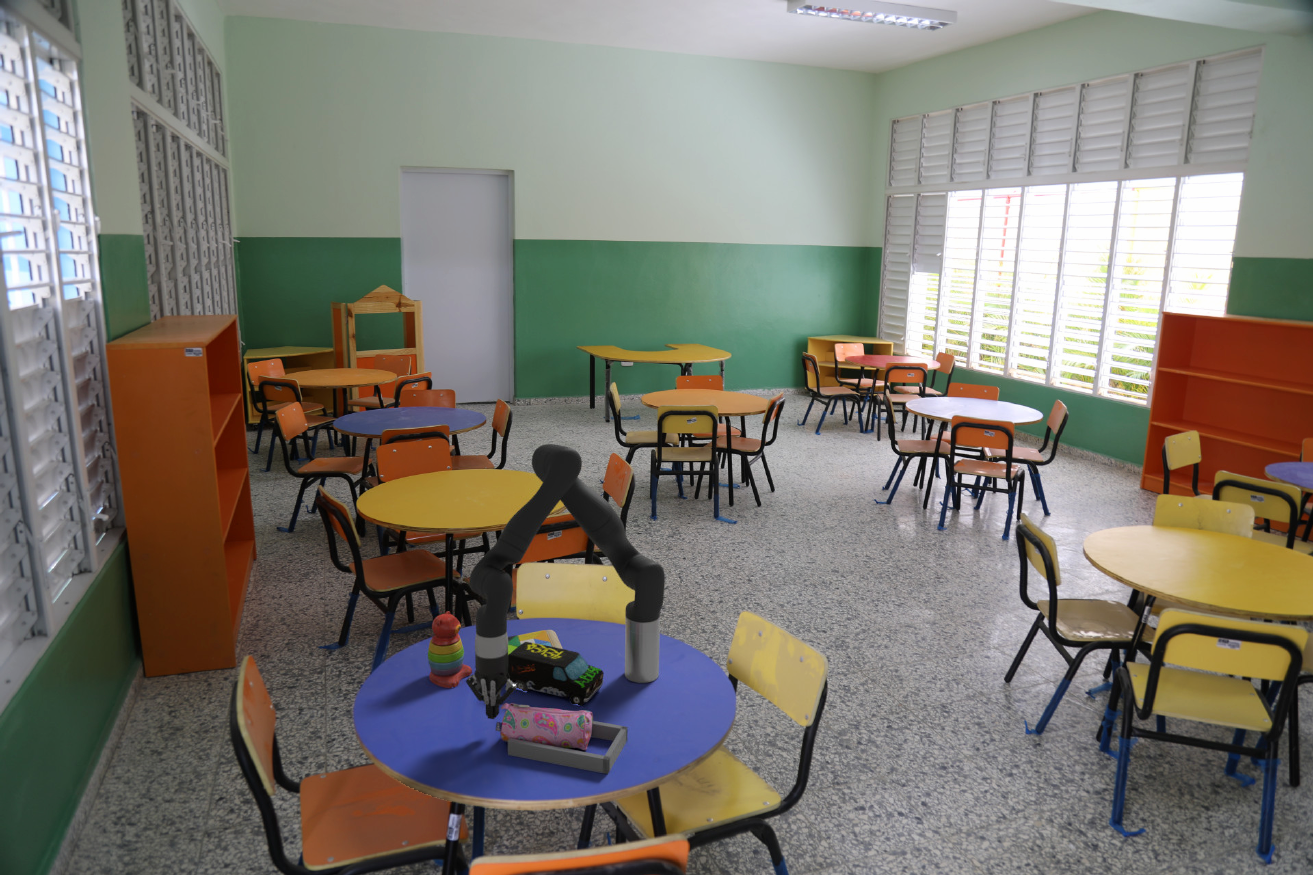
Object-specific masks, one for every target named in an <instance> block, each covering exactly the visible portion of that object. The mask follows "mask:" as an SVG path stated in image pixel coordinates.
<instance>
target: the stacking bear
mask: <svg viewBox="0 0 1313 875" xmlns="http://www.w3.org/2000/svg"><path fill="white" fill-rule="evenodd" d="M461 625H462V624H461V623H460V621H459V620H458V618H457V617H455V616H454V615H453V614H451V611H450V610H449V611H448V610H447V611H446V612H445V613H443V614H439V615H437V616H435V618H434V619H433V621H432V623H431V627H432V628H431V629H432V631H433V635H432V638H431V639H430V640H429V644H428V650H427V660H428V661H427V662H428V665H429V668H430V672H429V680H430V682H431V683H433V684H434V685H436V686H438V687H441V688H445V689H453V688H452V687H454V688H456V687H457V686H459V685H460V682H461V680H462V679H463V678H466V677H468V676H469V677H470V676H471V675H472V673H473V669H472V668H471V666H469V665H467V664H465V663H464V658H465V649H464V646H463V643H462V639H461V636H460V635H459V633H460V631H461V628H462V627H461Z"/></svg>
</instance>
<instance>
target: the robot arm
mask: <svg viewBox="0 0 1313 875" xmlns="http://www.w3.org/2000/svg"><path fill="white" fill-rule="evenodd" d="M582 465H583V461H582V456H581V455H580V453H579V452H578V451H577V450H576V449H575V448H572V447H569V446H565V445H561V444H555V443H548V444H547V443H546V444H542V445H540V446H538V447H536V449H535V450H534V452H533V454H532V457H531V466H532V470H533V472H534V474H535V476H536V477H537V478H538V479H539V480H540V482H542V484H541V485H540V487H539V489H538V490H537V491H536V492H535V494H534V495H533V496H532V497H531V498H530V499H529V500H528V501H527V502H526V503H525V504H524V505H523V506H522V507H521V508H519V509H518V511H517V512H515V513H514V514H513V515H512V517H511V518H510V519H509V520H508V522H507V523H506V524H505V526H504V528H503V530H502V532H501V533H500V535H499V537H498V538H497V540H496V542H495V544H494V545H493V547H491V548H490V549H489V550H488V551H487V552H486V553H485V555H483V556H482V558H481V559H480V560H479V561H478V562H477V563H476V564H475V565H474V567H473V569H472V571H471V572H470V574H469V575H470V576H469V581H468V584H469V587H470V589H471V590H472V592H474V593H475V594H477V595H478V596H481V597H484V598H485V599H486V604H483V605H481V606H479V607H478V609H477V610H476V613H475V639H474V653H475V654H474V660H475V661H474V662H475V663H474V664H475V665H474V666H475V667H474V668H475V671H474V673H473V674H470V675H469V677H467V679H466V680H465V683H466V685H467V686H468V687H469V689H470V691H471V692H472V693H473V695H474V696H475V697H476V699H477V700H478V701H479V702H481V701H482V702H484V704H485V715H486V716H487V719H490V720H495V719H496V718H497V717H499V714H500V705H501V706H502V705H503V704H504V702H505V701H506V700H507V699H508V698H509V697H510V696H511V695H512V694H513V693H514V691H516V688H517V687H518V683H516V682H514V683H513V682H512V681H511V680H510V676H509V674H508V637H509V636H508V616H507V614H508V612H509V610H510V604H511V600H512V597H513V594H514V593H513V592H514V584H513V580H512V577H511V576H510V574H509V573H507V572H506V571H504V568H505V567H507V566H508V565H511V564H512V565H515V564H516V565H517V564H519V563H520V562H521V561H522V559H523V558H524V556H525V554H526V553H527V551H528V549H529V547H530V546H531V544H532V542H533V540H534V538H535V536H536V535H537V533H538V531H539V530H540V528H541V526H542V525H543V524H544V522H545V521H546V519H547V518H548V516H549V515H551V512H552V511H553V510H554V509H555V508H556V506H557V505H558V504H559V503H560V502H561V503H562V504H563V506H564V508H566V509H567V511H568V513H569V514H570V515H571V517H572V518H574V520H575V521H576V522H577V524H578V525H579V527H580V528H581V529H582V531H584V533H585V534H586V536H587V537H588V538H589V539H590V540H591V541H592V543H593V544H594V545H595V546H596V547H597V549H599V551H600V552H601V553H603V555H604V556H605V557H606V558H607V559H608V561H609V562H610V564H611V566H612V567H613V568H614V570H615V572H616V574H617V575H618V577H619V578H620V580H621V581H622V583H623V584H624V585H625V586H626V587H628V588H629V589H631V590H632V591H634V600H632V601H629V602H628V603H627V604H626V606H625V610H624V611H625V621H624V622H625V624H624V625H625V627H624V628H625V632H624V633H625V635H624V636H625V637H624V638H625V639H624V641H625V642H624V676H625V678H626V680H628V681H631V682H633V683H639V684H645V683H650V682H653V681H655V680H657V679H658V678H659V674H660V673H659V672H660V634H661V633H660V628H661V627H660V626H661V624H660V623H661V622H660V621H661V611H662V608H663V604H664V596H665V586H666V585H665V584H666V582H665V581H666V580H665V579H666V576H665V571H664V568H663V566H662V565H661V564H660V563H658V562H656V561H655V560H652V559H651V558H649V557H647V556H645V555H643V554H642V553H641V552H640V551H639V550H638V549H637V548H635V546H634V545H633V544H632V543H631V541H630V540H629V539H628V537H627V535H626V534H627V533H626V530H625V526H624V523H623V521H622V519H621V518H620V516H619V514H618V513H617V512H616V510H615V509H614V508H613V506H612V505H611V504H610V503H609V502H608V501H607V500H606V499H605V498H604V497H603V496H602V495H600V494H599V493H598V492H596V490H594V489H593V488H591V487H590V486H588V484H586V483H585V482H584V481H583V480H582V479H580V478H579V475H580V474H581V471H582ZM504 686H506V687H505V692H504V694H502V695H501V693H502V689H503V688H504Z"/></svg>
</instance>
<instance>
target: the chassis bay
mask: <svg viewBox="0 0 1313 875" xmlns="http://www.w3.org/2000/svg"><path fill="white" fill-rule="evenodd" d="M590 738H595V739H600V740H607V741H612V743H611V745H610V746H609V748H608V750H607V751H606V753H605V754H604V755H603V754H596V753H591V752H586V751H580V750H575V749H572V748H563V747H555V746H549V745H544V744H539V743H533V742H528V741H523V740H517V739H512V738H510V739H509V740H508V742H507V755H508V756H511V757H516V758H517V757H518V758H522V759H527V760H528V759H529V760H531V761H538V762H543V763H550V764H554V765H558V766H563V767H569V768H575V769H579V770H585V771H590V772H596V773H602V774H606V775H609V773H610V772H611V771H612V768H613V766H614V764H615V763H616V761H617V760H618V758H619V756H620V754H621V752H622V750H623V749H624V747H625V745H626V743H627V742H628V726H625V725H618V724H613V723H607V722H601V721H596V720H593V723H592V732H591V737H590Z"/></svg>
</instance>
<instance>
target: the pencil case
mask: <svg viewBox="0 0 1313 875" xmlns="http://www.w3.org/2000/svg"><path fill="white" fill-rule="evenodd" d="M500 709H501V710H506V711H505V713H504V715H503V718H502V721H501V722H500V721H497V722H496V725H495V732H500V737H501V740H502V741H503V742H507V743H508V740H509V739H510V738H512V739H517V740H523V741H528V742H533V743H539V744H544V745H549V746H555V747H560V748H566V749H580V750H583V751H587V750H588V745H589V742H590V739H591V738H592V737H591V732H592V723H593V721H594V715H593V712H592V711H590V710H585V709H584V710H582V709H581V710H567V709H566V710H565V709H564V710H563V709H560V708H553V707H552V708H550V707H548V708H547V707H537V706H535V707H531V706H530V705H528V704H518V703H512V702H511V703H507V702H505V703H502V704H501V707H500Z"/></svg>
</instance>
